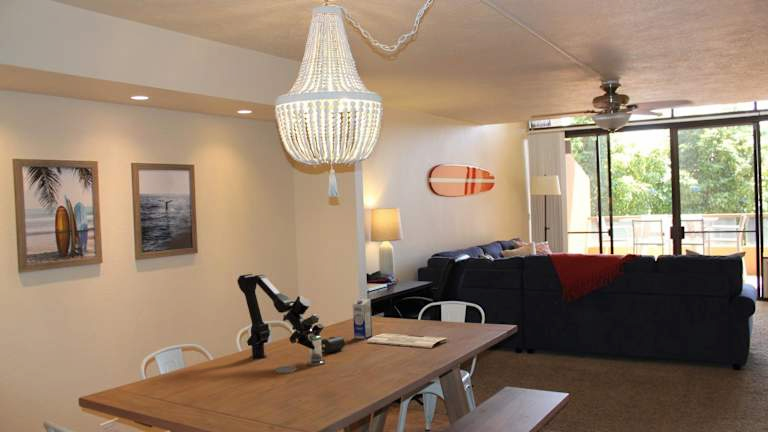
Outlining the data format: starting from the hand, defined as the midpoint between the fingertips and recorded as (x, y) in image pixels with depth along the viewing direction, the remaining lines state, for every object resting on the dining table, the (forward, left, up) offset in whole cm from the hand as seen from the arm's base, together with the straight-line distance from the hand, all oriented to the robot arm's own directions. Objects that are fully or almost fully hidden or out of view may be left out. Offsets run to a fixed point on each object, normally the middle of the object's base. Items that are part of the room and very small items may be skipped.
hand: (318, 347), depth 298 cm
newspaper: (-20, +50, -8) cm, 54 cm away
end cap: (-20, +12, -7) cm, 25 cm away
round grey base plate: (-1, -1, -7) cm, 7 cm away
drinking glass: (-1, -1, -4) cm, 4 cm away
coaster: (+5, -16, -7) cm, 18 cm away
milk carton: (-43, +35, -7) cm, 56 cm away
